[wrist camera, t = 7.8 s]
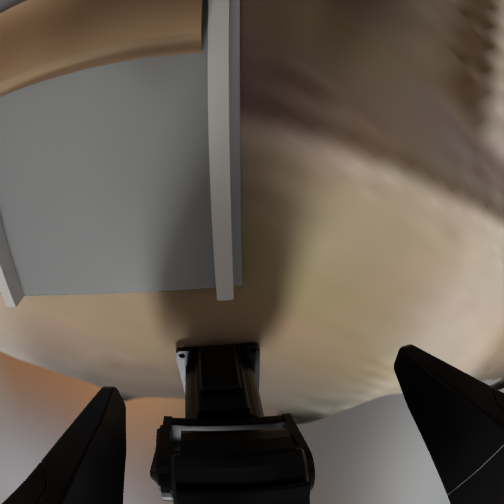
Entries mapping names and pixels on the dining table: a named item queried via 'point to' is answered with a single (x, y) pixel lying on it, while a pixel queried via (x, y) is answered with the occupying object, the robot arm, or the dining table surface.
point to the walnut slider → (91, 35)
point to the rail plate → (126, 174)
